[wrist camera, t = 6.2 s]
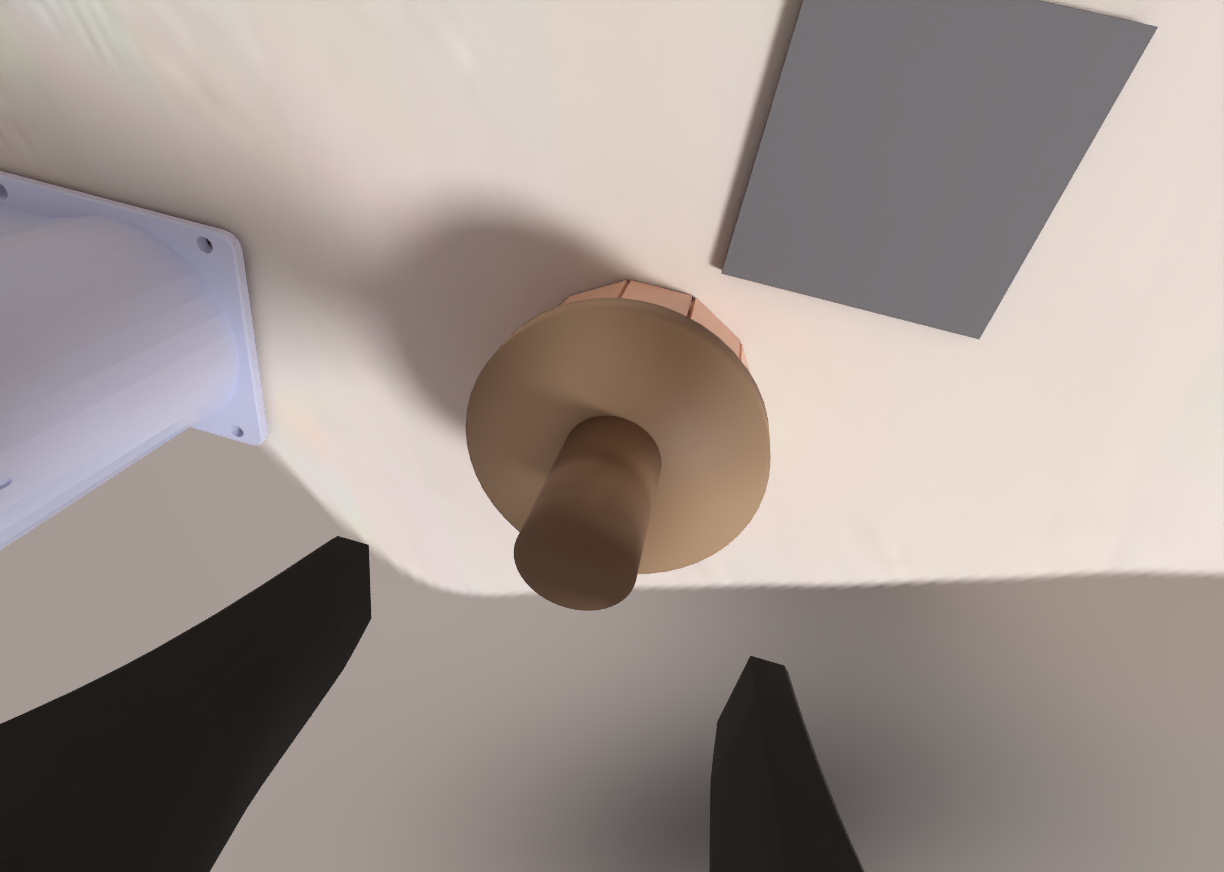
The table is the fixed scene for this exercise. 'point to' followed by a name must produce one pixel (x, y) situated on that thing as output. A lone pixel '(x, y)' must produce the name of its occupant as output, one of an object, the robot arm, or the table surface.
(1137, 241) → the table surface
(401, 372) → the table surface
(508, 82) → the table surface
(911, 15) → the mat
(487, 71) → the table surface
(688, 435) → the lid
